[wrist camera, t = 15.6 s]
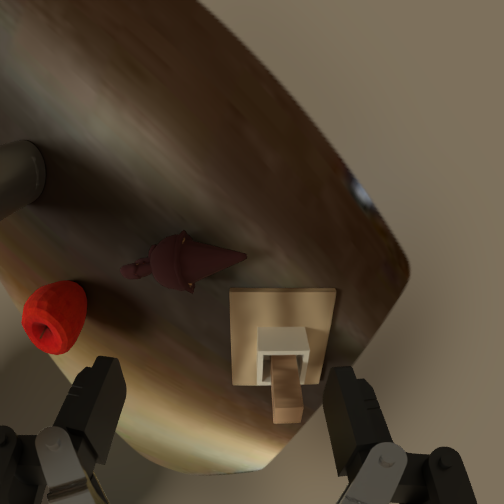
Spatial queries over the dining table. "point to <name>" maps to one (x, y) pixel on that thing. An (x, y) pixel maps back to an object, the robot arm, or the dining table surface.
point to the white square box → (281, 350)
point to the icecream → (182, 262)
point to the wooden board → (278, 325)
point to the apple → (55, 316)
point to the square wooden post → (285, 389)
